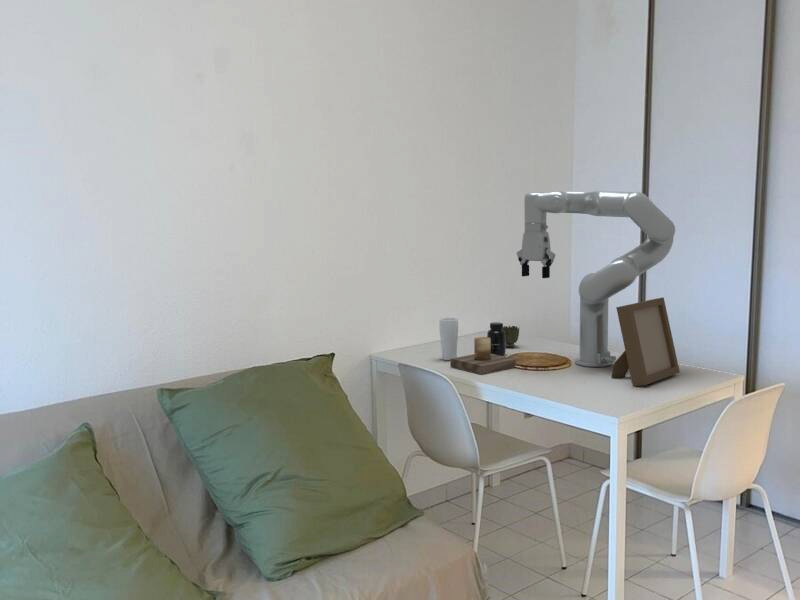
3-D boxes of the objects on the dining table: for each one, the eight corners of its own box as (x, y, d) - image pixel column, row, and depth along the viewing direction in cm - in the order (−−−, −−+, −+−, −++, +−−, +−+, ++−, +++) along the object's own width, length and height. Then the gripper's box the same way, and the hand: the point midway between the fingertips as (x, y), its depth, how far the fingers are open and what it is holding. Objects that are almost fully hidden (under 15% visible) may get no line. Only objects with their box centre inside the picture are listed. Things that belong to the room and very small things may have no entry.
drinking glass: (437, 358, 280) (436, 318, 278) (453, 356, 283) (452, 316, 281) (445, 362, 274) (444, 321, 272) (461, 360, 277) (461, 319, 275)
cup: (497, 346, 301) (497, 326, 299) (514, 344, 303) (514, 324, 302) (505, 349, 293) (505, 329, 292) (522, 348, 296) (522, 327, 295)
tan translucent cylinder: (494, 366, 263) (494, 338, 262) (482, 369, 260) (481, 340, 259) (483, 364, 268) (482, 336, 267) (471, 366, 265) (470, 338, 263)
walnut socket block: (515, 367, 262) (515, 358, 262) (481, 374, 253) (481, 365, 253) (484, 360, 275) (484, 352, 275) (450, 367, 266) (450, 358, 265)
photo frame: (679, 375, 245) (680, 298, 242) (645, 388, 230) (645, 306, 227) (637, 369, 255) (637, 295, 252) (602, 381, 241) (602, 303, 238)
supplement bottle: (492, 357, 280) (492, 325, 278) (484, 354, 286) (483, 322, 285) (509, 355, 282) (508, 323, 281) (500, 352, 289) (499, 321, 287)
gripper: (561, 228, 260) (561, 277, 262) (524, 227, 274) (525, 274, 276) (546, 229, 256) (546, 279, 258) (510, 228, 269) (510, 276, 272)
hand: (535, 277), depth 267 cm, fingers open, 9 cm apart
